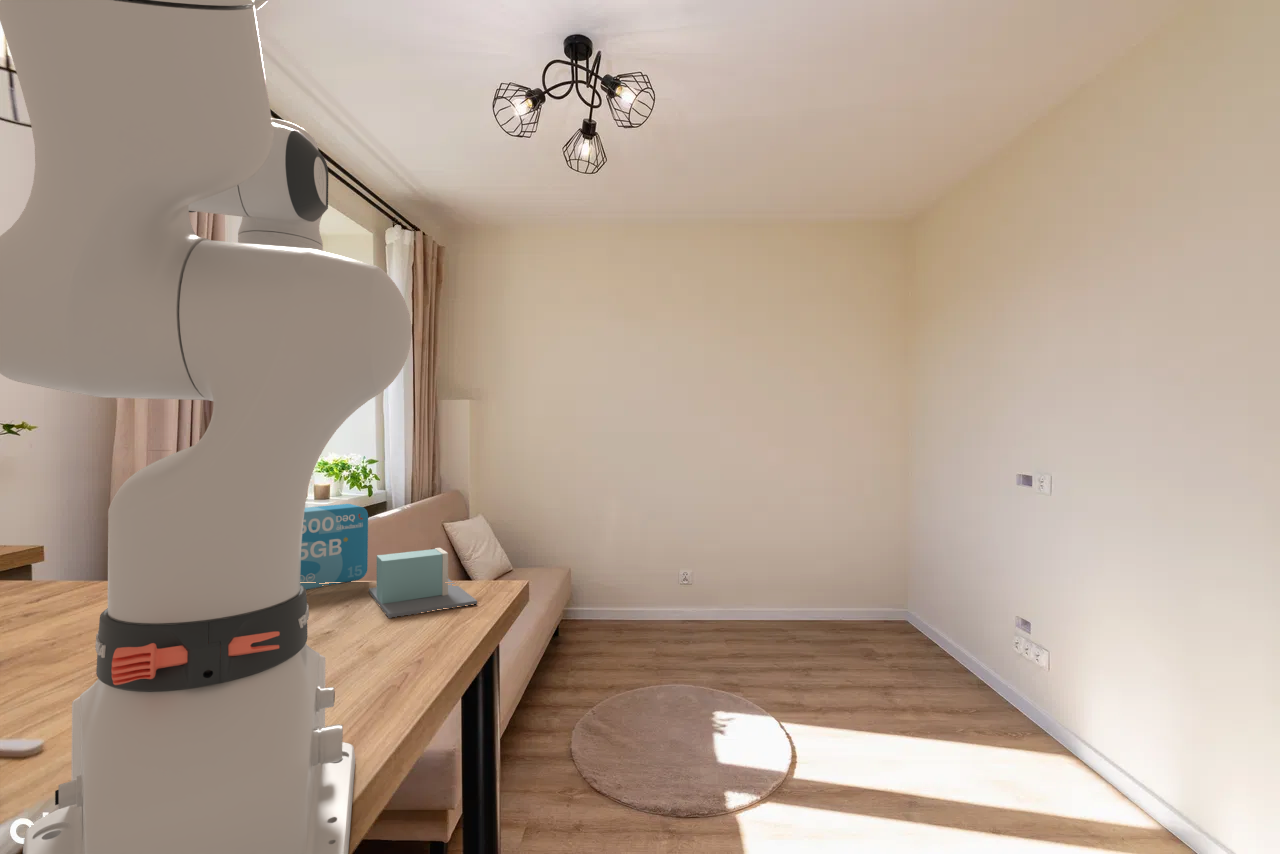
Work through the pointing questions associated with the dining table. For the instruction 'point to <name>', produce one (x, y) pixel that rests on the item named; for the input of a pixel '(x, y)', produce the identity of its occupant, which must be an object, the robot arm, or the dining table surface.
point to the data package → (334, 545)
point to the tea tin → (412, 575)
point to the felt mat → (426, 602)
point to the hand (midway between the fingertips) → (279, 381)
